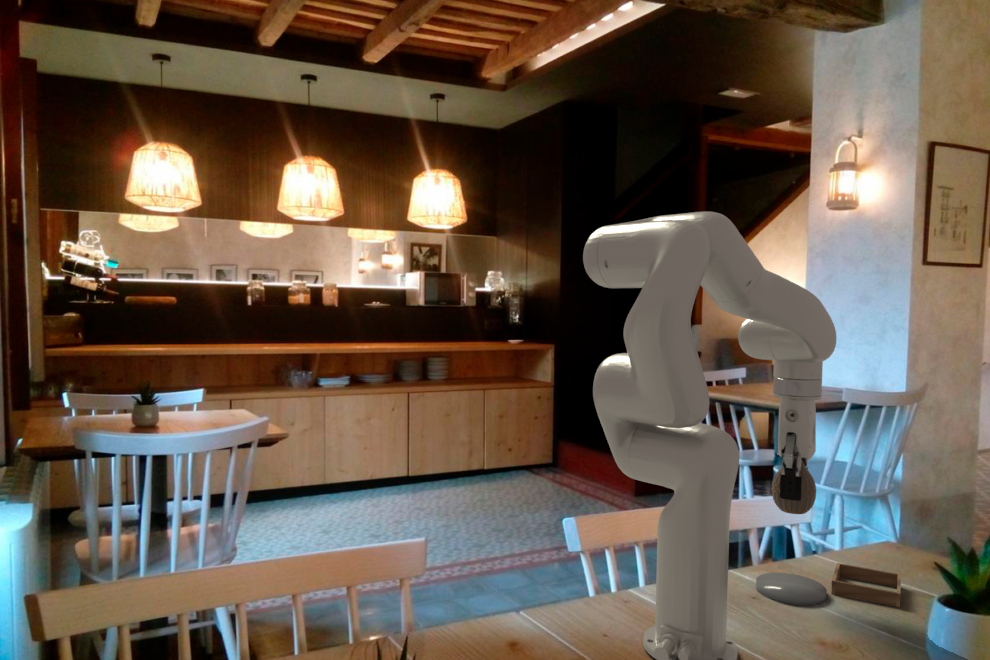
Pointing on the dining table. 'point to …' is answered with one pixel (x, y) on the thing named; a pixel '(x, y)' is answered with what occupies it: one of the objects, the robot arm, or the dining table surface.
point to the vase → (806, 493)
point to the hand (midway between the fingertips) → (793, 493)
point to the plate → (791, 589)
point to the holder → (864, 591)
